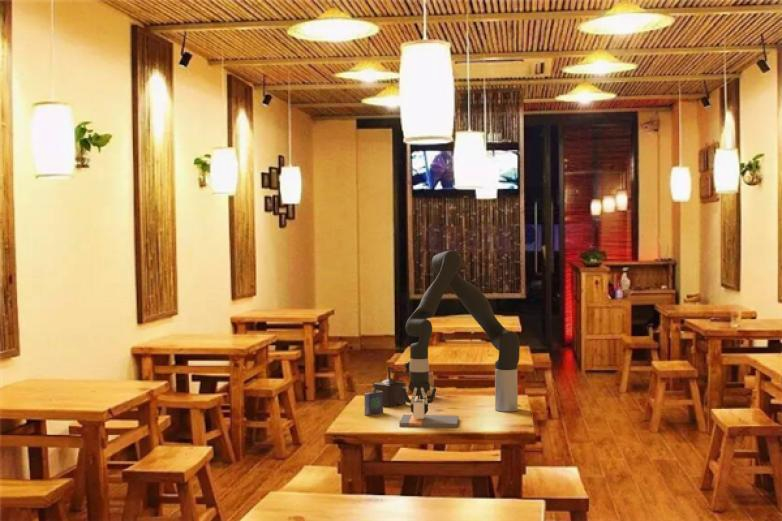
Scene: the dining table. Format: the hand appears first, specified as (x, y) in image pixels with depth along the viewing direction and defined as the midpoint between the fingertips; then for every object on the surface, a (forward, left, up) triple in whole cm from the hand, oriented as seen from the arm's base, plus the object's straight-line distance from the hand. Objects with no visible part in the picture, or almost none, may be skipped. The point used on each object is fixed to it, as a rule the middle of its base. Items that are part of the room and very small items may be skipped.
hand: (419, 413), depth 365 cm
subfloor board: (-4, 0, -4) cm, 5 cm away
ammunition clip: (+1, -50, -4) cm, 50 cm away
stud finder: (0, 0, -1) cm, 1 cm away
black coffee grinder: (+14, -38, -4) cm, 40 cm away
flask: (+20, -16, -4) cm, 26 cm away
